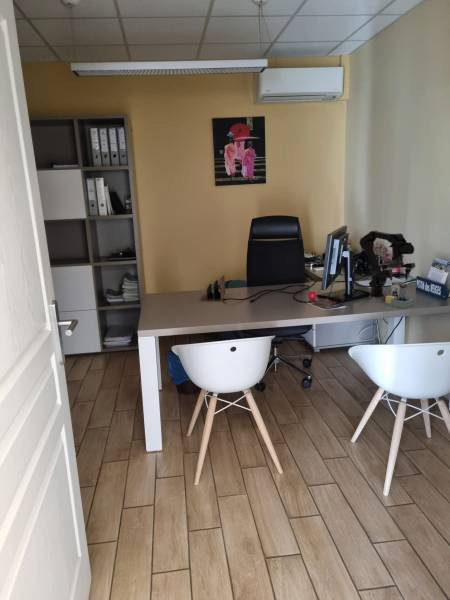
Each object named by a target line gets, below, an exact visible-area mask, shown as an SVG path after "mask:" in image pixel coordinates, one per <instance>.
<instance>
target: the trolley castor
mask: <svg viewBox="0 0 450 600" xmlns="http://www.w3.org/2000/svg"><path fill="white" fill-rule="evenodd" d="M390 288H391V294H390V296H395V297H397V298H398V297H399V288H400V286H399V285H398V284H396V285H392V284H391V285H390ZM395 288H398V289H397V291H396V289H395Z"/></svg>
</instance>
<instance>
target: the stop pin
mask: <svg viewBox="0 0 450 600" xmlns="http://www.w3.org/2000/svg"><path fill="white" fill-rule="evenodd" d="M399 286H400V288H399V301H403V302H405V300H406V298H407V297H406V294H407V289H406V287H407V284H406V283H403V284H399Z"/></svg>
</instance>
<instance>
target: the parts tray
mask: <svg viewBox="0 0 450 600" xmlns="http://www.w3.org/2000/svg"><path fill="white" fill-rule="evenodd" d="M414 300H415V299H413V298H407V297H406V300H405V302H403V301H399V297H398V298H395V299H391V304H390V307H394V308H399V309H404V310H405V309H408V308H411V307H414Z"/></svg>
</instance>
